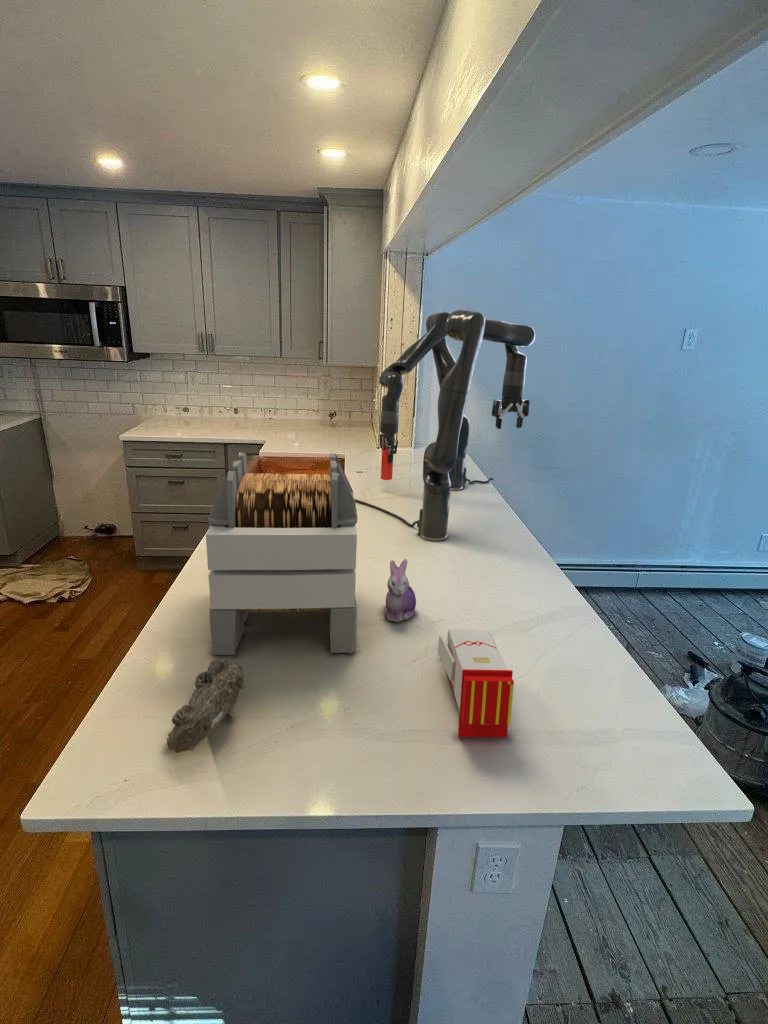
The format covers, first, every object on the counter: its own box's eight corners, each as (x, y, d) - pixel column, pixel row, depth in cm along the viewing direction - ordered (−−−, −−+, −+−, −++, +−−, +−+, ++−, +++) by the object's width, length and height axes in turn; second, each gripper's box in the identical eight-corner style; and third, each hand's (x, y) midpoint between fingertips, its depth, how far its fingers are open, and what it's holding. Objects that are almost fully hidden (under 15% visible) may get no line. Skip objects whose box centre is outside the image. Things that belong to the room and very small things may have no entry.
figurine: (392, 627, 141) (395, 572, 136) (374, 608, 149) (376, 556, 144) (425, 619, 145) (429, 566, 140) (405, 601, 154) (408, 550, 149)
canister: (387, 480, 237) (388, 452, 233) (378, 478, 240) (379, 450, 236) (394, 478, 241) (395, 450, 237) (385, 476, 244) (386, 448, 239)
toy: (488, 613, 130) (523, 677, 101) (484, 667, 133) (517, 744, 104) (435, 612, 130) (455, 676, 101) (432, 666, 133) (451, 743, 103)
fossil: (192, 660, 117) (244, 628, 112) (224, 691, 120) (276, 661, 115) (142, 746, 98) (202, 712, 93) (182, 779, 101) (242, 748, 96)
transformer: (231, 586, 157) (223, 443, 144) (349, 585, 161) (352, 445, 147) (209, 657, 126) (197, 482, 112) (356, 653, 129) (362, 483, 116)
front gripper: (524, 382, 209) (519, 425, 215) (491, 382, 204) (486, 426, 210) (536, 384, 203) (530, 429, 208) (502, 385, 198) (497, 430, 203)
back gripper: (374, 418, 237) (372, 457, 242) (388, 424, 224) (386, 466, 230) (390, 417, 240) (388, 456, 245) (405, 424, 227) (402, 465, 233)
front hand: (508, 428), depth 209 cm, fingers open, 8 cm apart
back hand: (387, 461), depth 238 cm, fingers closed on canister, 5 cm apart
